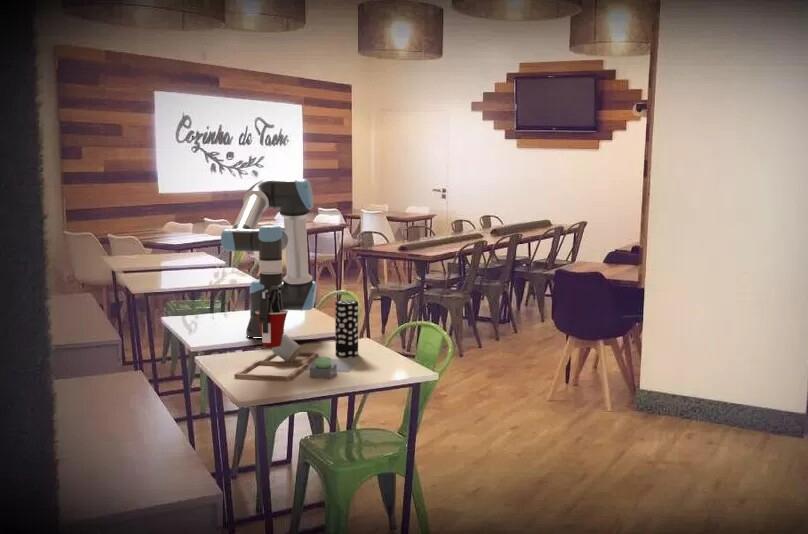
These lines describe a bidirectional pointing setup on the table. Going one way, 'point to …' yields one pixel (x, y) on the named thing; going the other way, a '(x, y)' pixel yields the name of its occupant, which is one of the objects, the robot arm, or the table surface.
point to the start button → (323, 362)
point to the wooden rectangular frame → (266, 361)
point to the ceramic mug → (287, 349)
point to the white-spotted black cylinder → (346, 328)
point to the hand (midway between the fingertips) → (271, 339)
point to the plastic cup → (275, 327)
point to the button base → (323, 372)
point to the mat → (339, 364)
